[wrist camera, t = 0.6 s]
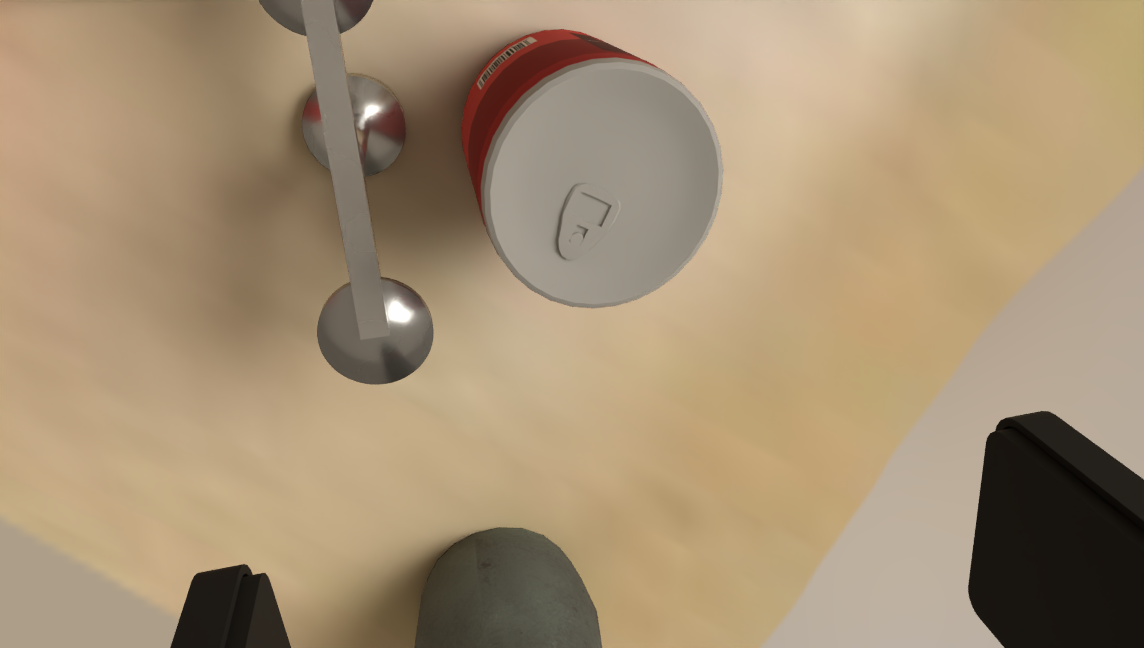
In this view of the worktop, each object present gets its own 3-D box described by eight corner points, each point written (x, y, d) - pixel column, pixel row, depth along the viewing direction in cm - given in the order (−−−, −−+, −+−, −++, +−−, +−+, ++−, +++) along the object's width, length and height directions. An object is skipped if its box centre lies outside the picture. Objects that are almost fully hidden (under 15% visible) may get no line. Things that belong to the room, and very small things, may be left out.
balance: (259, -86, 32) (215, -95, 24) (370, -95, 32) (361, -107, 25) (342, 309, 38) (328, 399, 31) (433, 295, 39) (441, 381, 31)
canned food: (447, 202, 37) (463, 297, 27) (475, 8, 34) (506, 36, 25) (616, 227, 39) (690, 324, 29) (657, 45, 36) (754, 84, 26)
